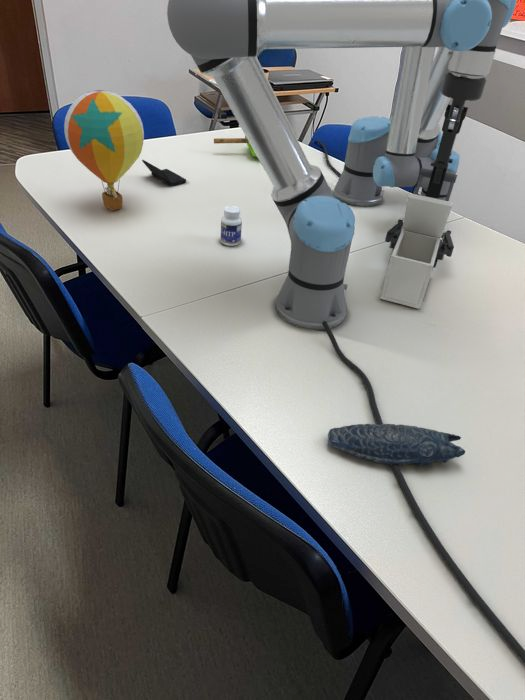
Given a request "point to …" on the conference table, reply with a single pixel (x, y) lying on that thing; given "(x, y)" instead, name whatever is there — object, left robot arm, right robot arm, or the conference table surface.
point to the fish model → (395, 443)
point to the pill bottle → (231, 226)
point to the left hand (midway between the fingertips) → (432, 194)
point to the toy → (105, 138)
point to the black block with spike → (165, 175)
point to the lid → (428, 209)
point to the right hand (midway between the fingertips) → (414, 257)
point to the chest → (410, 269)
